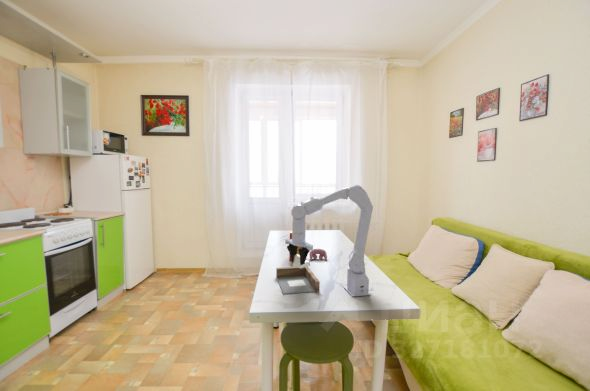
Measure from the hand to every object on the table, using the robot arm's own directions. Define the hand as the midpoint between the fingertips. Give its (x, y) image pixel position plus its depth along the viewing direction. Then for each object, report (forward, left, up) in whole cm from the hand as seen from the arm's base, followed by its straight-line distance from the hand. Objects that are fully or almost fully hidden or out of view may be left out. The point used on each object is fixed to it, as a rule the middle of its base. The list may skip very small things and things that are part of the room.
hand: (298, 262), depth 113 cm
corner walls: (0, +1, -10) cm, 10 cm away
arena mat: (0, +1, -10) cm, 10 cm away
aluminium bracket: (+1, -2, -2) cm, 3 cm away
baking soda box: (+34, -7, -10) cm, 36 cm away
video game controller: (+30, -19, -10) cm, 37 cm away
